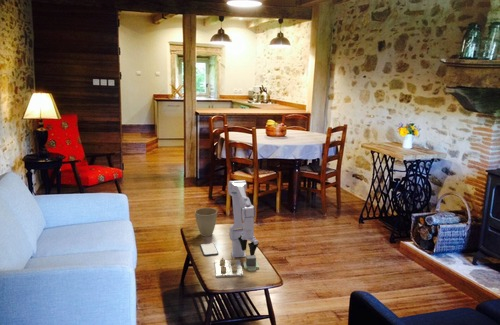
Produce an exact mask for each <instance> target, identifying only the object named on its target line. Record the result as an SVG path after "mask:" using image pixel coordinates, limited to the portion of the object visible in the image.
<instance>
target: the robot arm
mask: <svg viewBox="0 0 500 325" xmlns="http://www.w3.org/2000/svg"><path fill="white" fill-rule="evenodd" d="M247 187H248V184H247V181H246V180H245V179H240V180H228V183H227V188H228V189H227V192H228V195H229V196H231V199H232V214H233V224H232V225H231V226H230V227H229V239H230V241H231V242H232V246H231V247H232V248H231V250H230V252H231V253H230V254H231V257H232V258H233V257H234V258H246V251H247V247H248V249H249V254H250V255H251V256H252V255H256V250H257V248H258V246H259V240H258V239H257V238H256V236H255V235H254V234H255V232H254V231H255V229H254V228H255V225H254V224H255V217H256V215H257V212H256V207H255V206H254V205H253V204H252V202H251V200H250V197H248V196H247V193H246V191H247V190H248V189H247ZM248 241H249V243H248ZM247 245H248V246H247Z"/></svg>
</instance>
